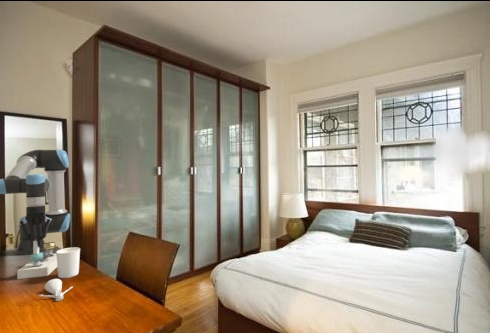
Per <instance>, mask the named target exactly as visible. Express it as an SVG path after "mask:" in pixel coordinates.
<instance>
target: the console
mask: <svg viewBox="0 0 490 333" xmlns="http://www.w3.org/2000/svg"><path fill="white" fill-rule="evenodd" d="M55 269H57V256H56V253H53V256H50V257H48V258H47V261H46V262H40V267H33V261H29V262H28V263H26V264H25V265H23V266H22V267H21V268H19V269H18V270H17V271H16V272H17V275H16V276H17V280H21V279H31V278H32V279H33V278H41V277H48V276H49V275H50V274H51V273H53V271H54V270H55Z"/></svg>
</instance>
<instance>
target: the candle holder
mask: <svg viewBox="0 0 490 333" xmlns="http://www.w3.org/2000/svg"><path fill="white" fill-rule="evenodd" d="M55 254H56V256H57V267H56V269H57V277H58V279H69V278H73V277H75V276H78V275H79V272H80V257H81V256H80V255H81V248H80V247H78V246H77V247H75V246H73V247H66V248H60V249H58V250H56V252H55Z"/></svg>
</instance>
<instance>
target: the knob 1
mask: <svg viewBox="0 0 490 333" xmlns="http://www.w3.org/2000/svg"><path fill="white" fill-rule="evenodd" d="M41 259H43V253H38V254H35V255H33V254H29V262H31V261H33V267H40V260H41Z"/></svg>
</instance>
